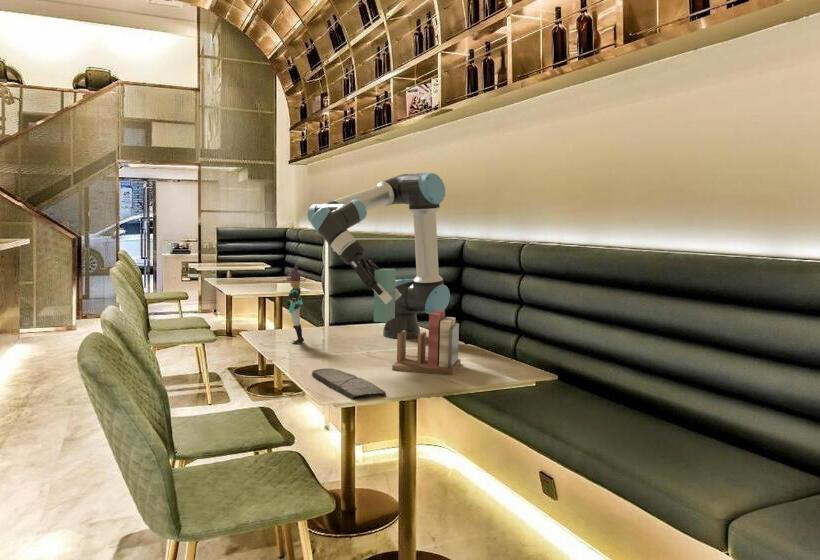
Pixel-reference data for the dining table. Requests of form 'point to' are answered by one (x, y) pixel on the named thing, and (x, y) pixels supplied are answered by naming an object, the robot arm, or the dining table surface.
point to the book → (388, 283)
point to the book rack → (432, 347)
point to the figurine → (295, 302)
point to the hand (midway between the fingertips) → (394, 299)
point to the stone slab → (346, 383)
